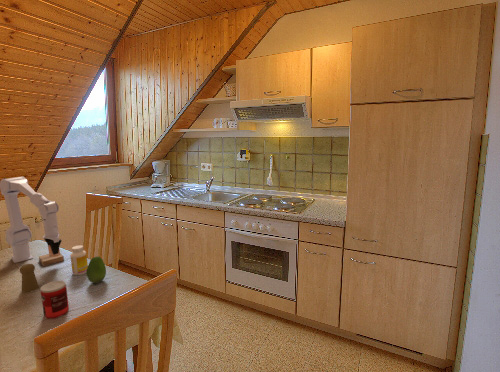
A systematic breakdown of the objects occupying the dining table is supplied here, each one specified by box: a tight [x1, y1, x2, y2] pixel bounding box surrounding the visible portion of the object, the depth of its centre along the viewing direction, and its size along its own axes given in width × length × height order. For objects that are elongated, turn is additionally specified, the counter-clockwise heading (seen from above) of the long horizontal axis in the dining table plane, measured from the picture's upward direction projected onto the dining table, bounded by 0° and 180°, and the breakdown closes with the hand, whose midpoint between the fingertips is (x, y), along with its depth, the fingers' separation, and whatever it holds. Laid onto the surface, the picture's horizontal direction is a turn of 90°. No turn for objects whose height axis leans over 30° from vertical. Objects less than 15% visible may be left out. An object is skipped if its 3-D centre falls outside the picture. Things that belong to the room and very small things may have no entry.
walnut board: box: [38, 252, 65, 267], centre depth 154 cm, size 9×9×2 cm
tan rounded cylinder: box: [47, 244, 61, 257], centre depth 147 cm, size 5×5×6 cm
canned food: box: [39, 280, 70, 319], centre depth 109 cm, size 8×8×11 cm
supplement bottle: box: [70, 244, 89, 276], centre depth 140 cm, size 7×7×13 cm
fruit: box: [85, 256, 107, 284], centre depth 131 cm, size 8×8×12 cm
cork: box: [19, 263, 40, 294], centre depth 126 cm, size 6×6×11 cm
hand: (54, 252), depth 147 cm, fingers closed on tan rounded cylinder, 5 cm apart
